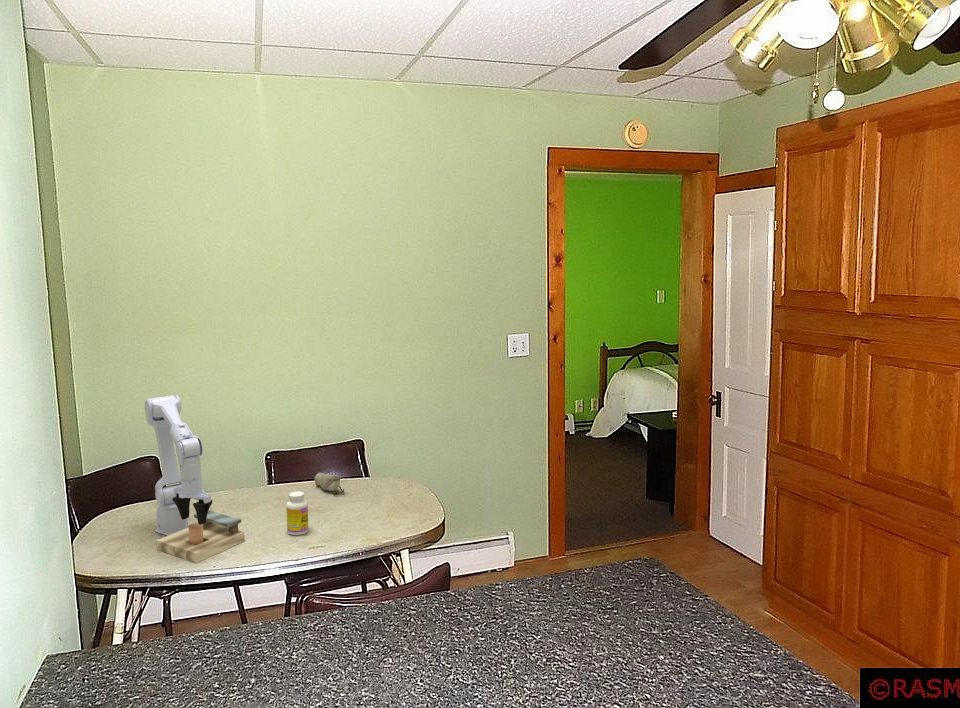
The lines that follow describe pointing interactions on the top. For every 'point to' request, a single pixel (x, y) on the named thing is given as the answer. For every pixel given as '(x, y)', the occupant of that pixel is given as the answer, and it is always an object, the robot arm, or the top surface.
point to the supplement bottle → (297, 514)
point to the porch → (216, 535)
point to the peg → (196, 534)
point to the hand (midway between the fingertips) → (193, 521)
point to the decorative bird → (328, 482)
